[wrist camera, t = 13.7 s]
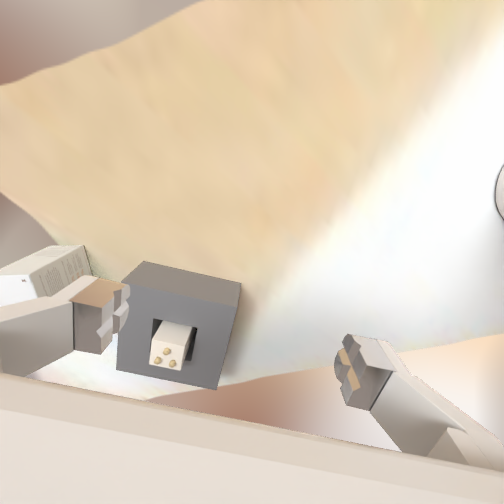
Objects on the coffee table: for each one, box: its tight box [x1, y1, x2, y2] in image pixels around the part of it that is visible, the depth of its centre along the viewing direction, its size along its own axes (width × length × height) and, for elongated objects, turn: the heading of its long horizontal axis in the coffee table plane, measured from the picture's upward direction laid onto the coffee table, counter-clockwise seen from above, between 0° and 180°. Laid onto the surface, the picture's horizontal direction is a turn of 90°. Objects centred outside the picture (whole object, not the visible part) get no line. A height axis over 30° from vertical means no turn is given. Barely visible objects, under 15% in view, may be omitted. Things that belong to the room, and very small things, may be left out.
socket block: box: [116, 261, 241, 390], centre depth 41 cm, size 16×16×7 cm
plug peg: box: [149, 320, 196, 371], centre depth 39 cm, size 4×4×11 cm
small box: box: [0, 245, 92, 307], centre depth 37 cm, size 8×6×10 cm
